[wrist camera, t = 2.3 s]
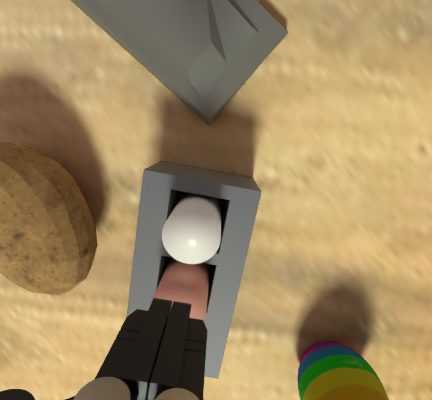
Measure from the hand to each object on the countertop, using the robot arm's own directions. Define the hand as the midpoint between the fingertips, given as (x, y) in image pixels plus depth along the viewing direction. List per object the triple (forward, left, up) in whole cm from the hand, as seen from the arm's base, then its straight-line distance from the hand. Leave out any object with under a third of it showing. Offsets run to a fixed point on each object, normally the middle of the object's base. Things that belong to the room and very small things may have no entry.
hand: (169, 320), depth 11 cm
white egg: (0, 0, -14) cm, 14 cm away
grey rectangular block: (+5, 0, -17) cm, 18 cm away
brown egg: (+5, 0, -14) cm, 15 cm away
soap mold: (-17, -7, -18) cm, 26 cm away
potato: (+3, -14, -17) cm, 23 cm away
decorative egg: (+16, +17, -17) cm, 29 cm away
